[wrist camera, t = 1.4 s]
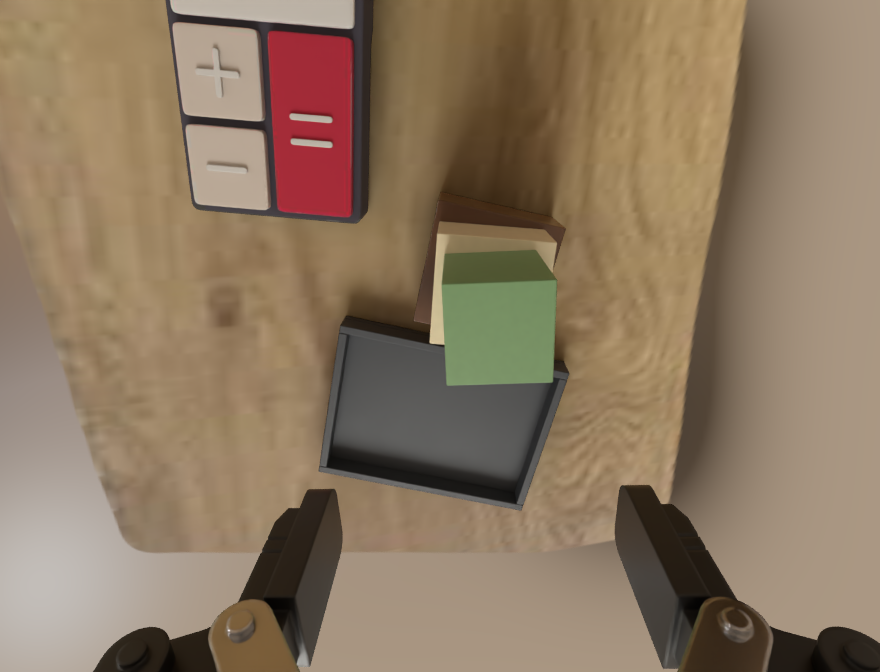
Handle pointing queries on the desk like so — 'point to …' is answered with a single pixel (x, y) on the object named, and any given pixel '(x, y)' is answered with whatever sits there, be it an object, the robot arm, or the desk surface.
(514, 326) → the green block
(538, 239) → the cream block
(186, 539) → the desk surface
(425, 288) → the walnut block
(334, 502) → the robot arm
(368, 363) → the tray
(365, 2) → the calculator
